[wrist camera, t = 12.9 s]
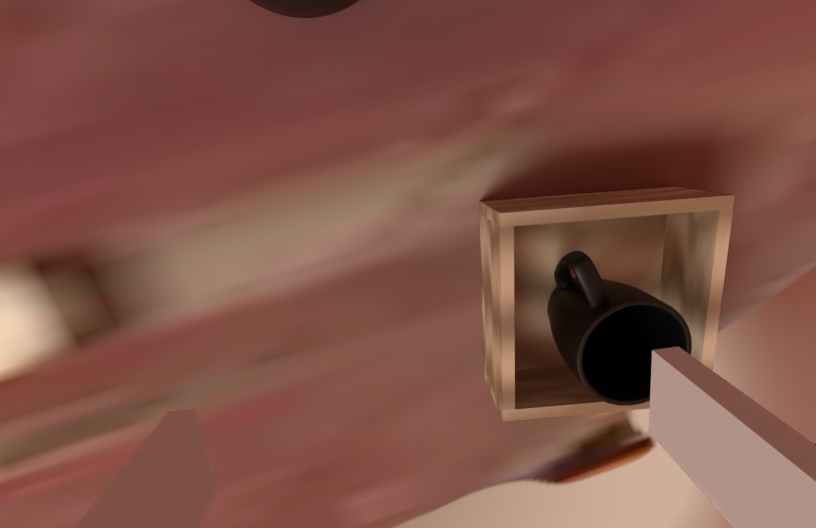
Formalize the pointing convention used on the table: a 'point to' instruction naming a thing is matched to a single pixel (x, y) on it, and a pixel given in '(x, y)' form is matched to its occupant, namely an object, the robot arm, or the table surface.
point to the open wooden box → (615, 260)
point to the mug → (610, 331)
